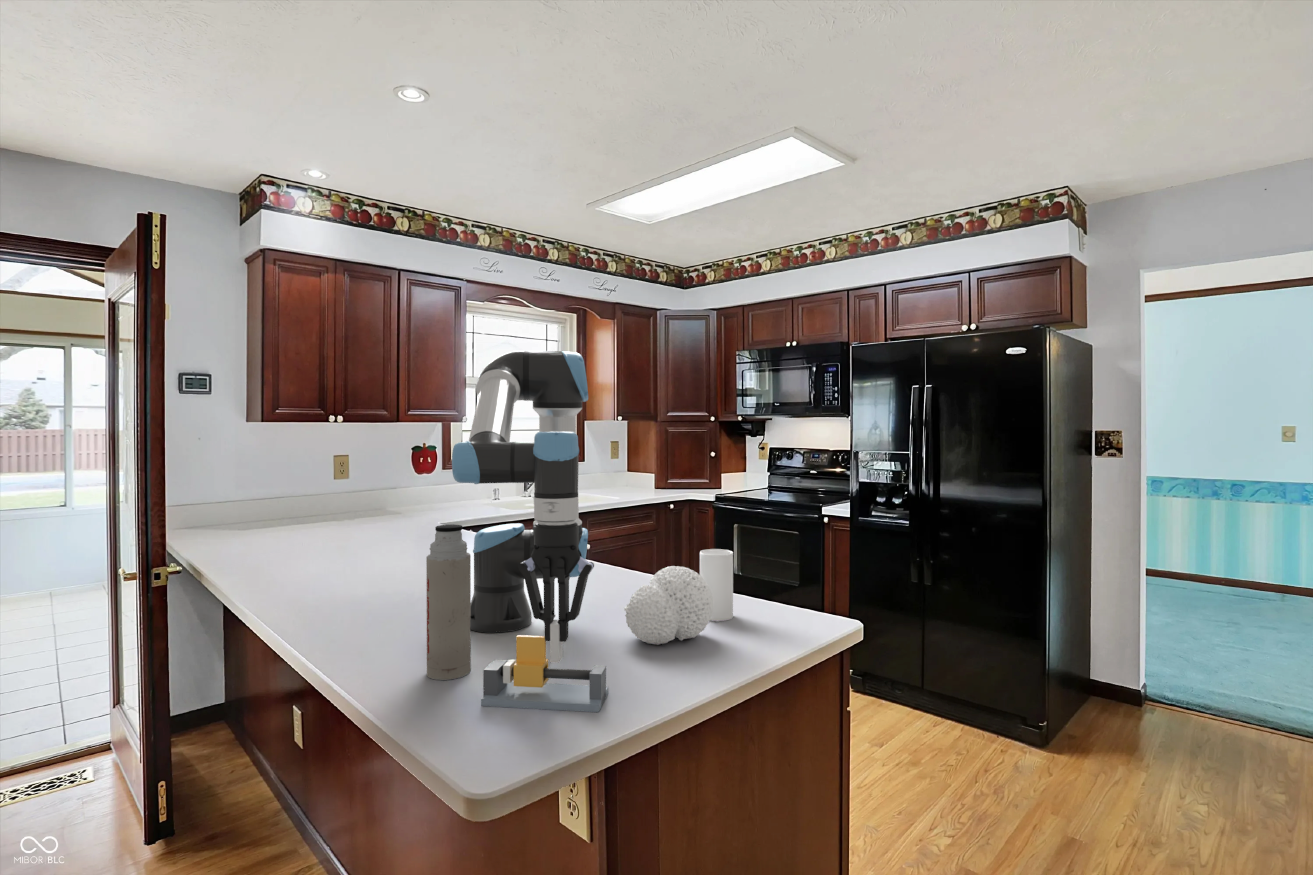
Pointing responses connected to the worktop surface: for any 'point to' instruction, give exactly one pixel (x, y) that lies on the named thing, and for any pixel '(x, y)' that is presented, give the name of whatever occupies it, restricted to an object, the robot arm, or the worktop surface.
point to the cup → (719, 581)
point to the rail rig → (544, 689)
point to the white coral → (670, 606)
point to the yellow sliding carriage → (530, 661)
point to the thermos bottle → (448, 605)
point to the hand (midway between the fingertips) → (556, 659)
